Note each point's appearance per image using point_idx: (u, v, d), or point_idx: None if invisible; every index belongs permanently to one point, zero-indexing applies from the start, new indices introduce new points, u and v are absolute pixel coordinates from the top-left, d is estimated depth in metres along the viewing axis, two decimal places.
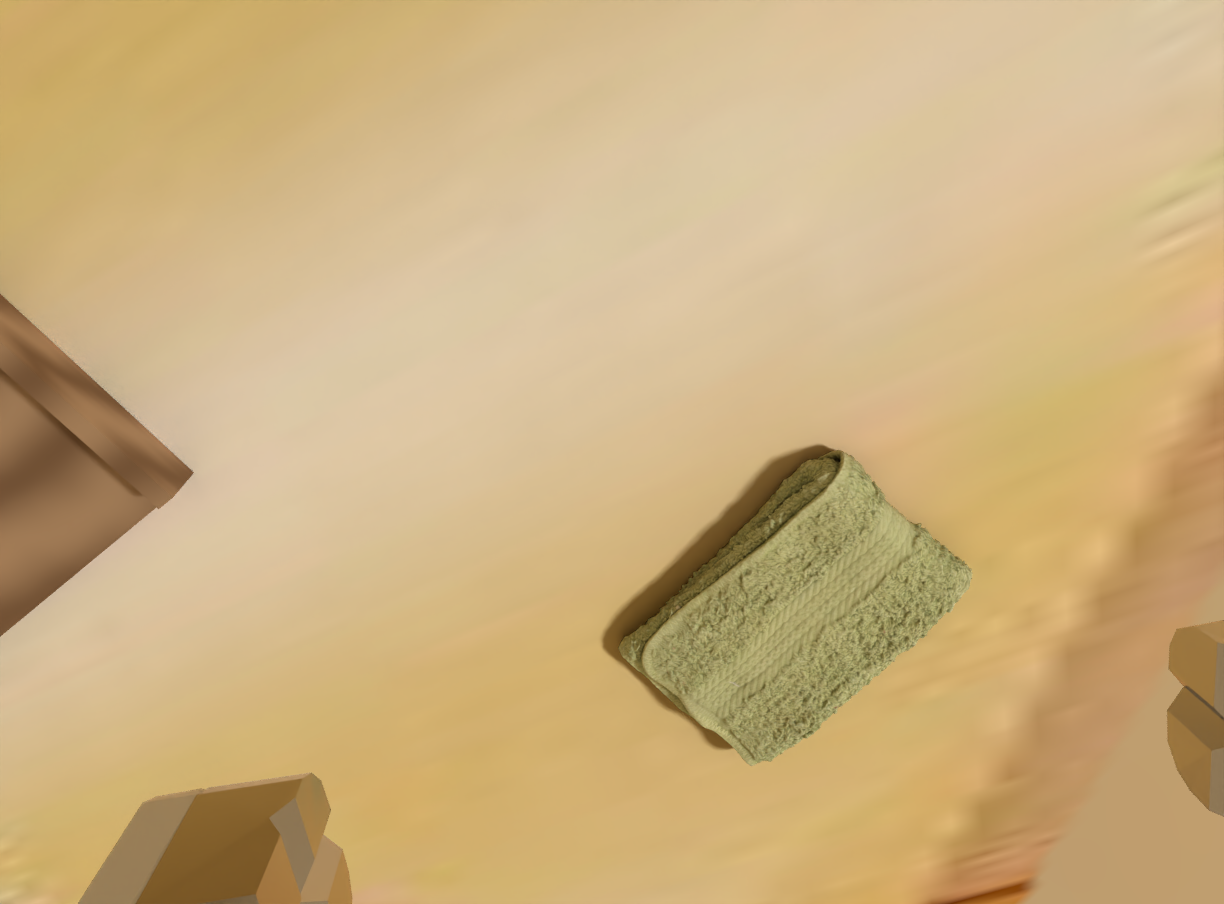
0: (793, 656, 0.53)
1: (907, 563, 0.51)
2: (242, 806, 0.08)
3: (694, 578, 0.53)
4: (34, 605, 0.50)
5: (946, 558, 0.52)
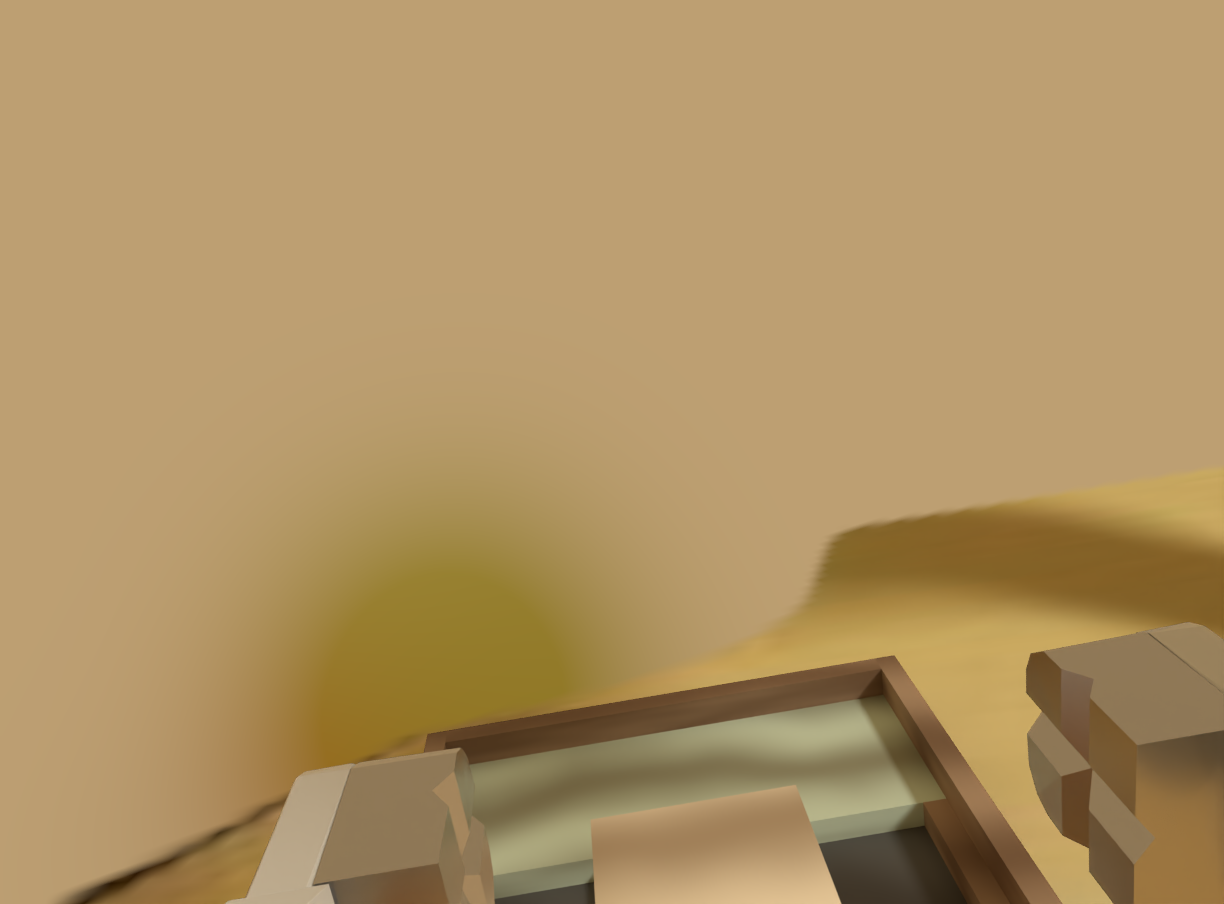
0: None
1: None
2: (402, 780, 0.08)
3: None
4: None
5: None
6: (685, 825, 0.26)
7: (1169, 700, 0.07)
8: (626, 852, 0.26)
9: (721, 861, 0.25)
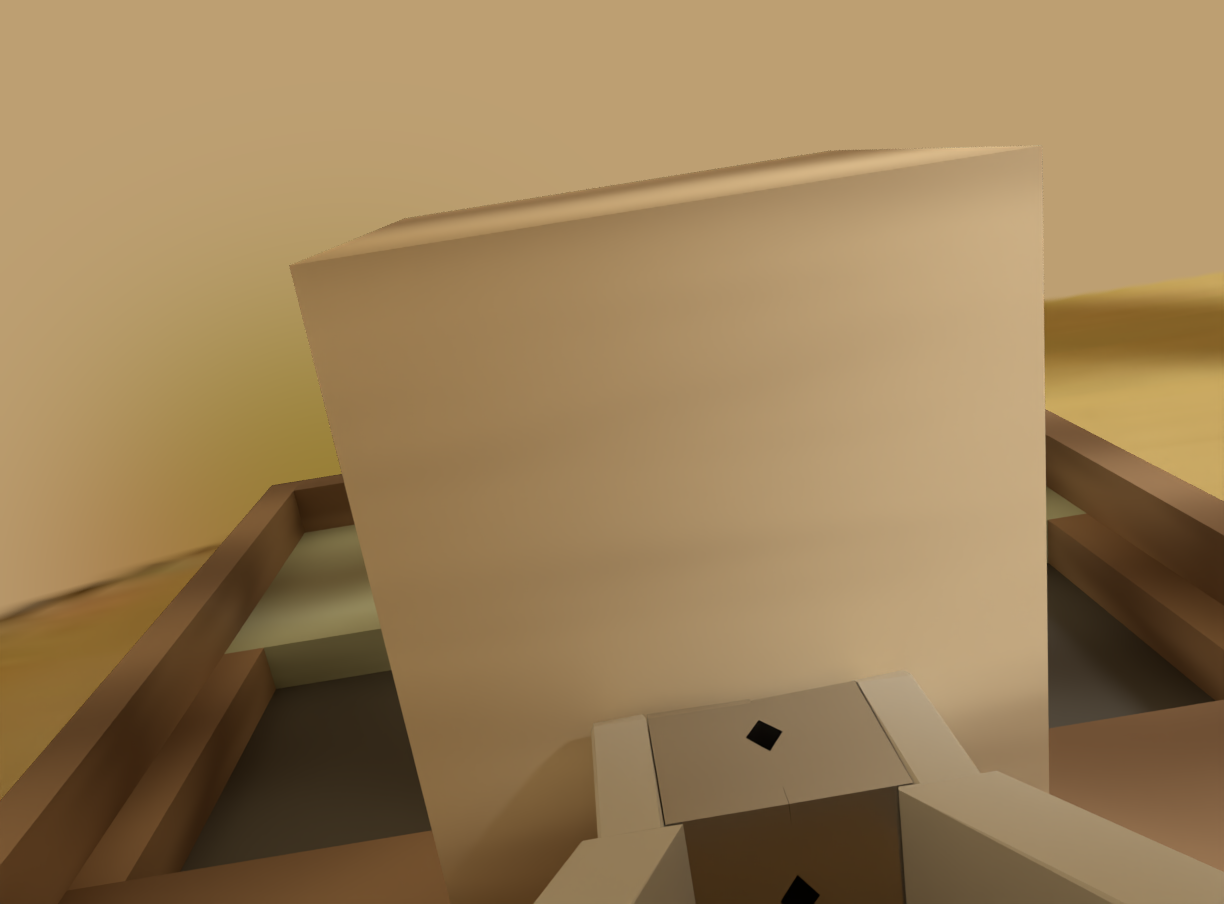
0: None
1: None
2: (707, 728, 0.08)
3: None
4: None
5: None
6: (596, 190, 0.12)
7: (840, 755, 0.07)
8: (460, 214, 0.12)
9: (667, 184, 0.11)
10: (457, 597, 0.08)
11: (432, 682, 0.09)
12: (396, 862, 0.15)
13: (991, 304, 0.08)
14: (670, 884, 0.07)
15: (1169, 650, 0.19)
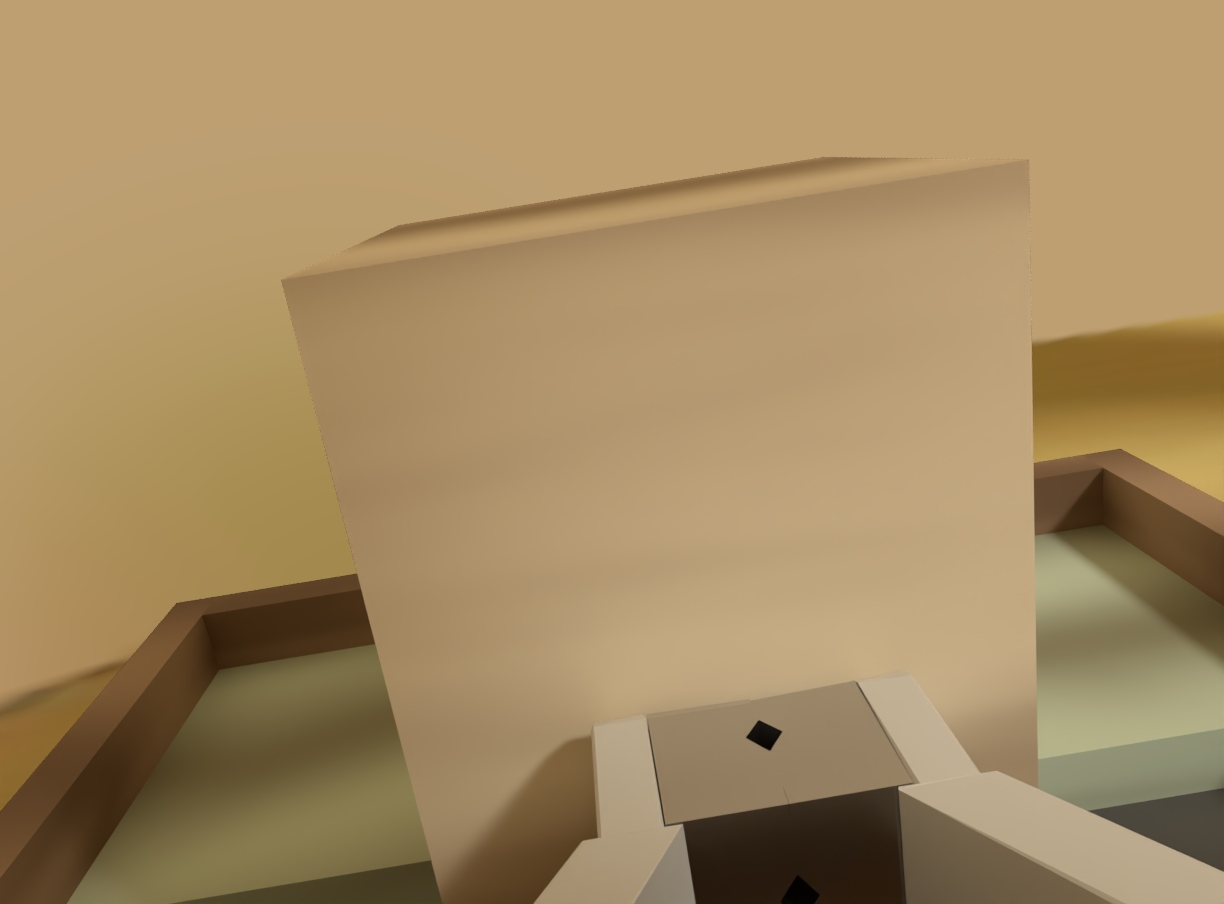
0: None
1: None
2: (707, 728, 0.08)
3: None
4: None
5: None
6: (589, 197, 0.12)
7: (840, 755, 0.07)
8: (453, 222, 0.12)
9: (659, 193, 0.11)
10: (450, 607, 0.08)
11: (425, 691, 0.09)
12: None
13: (979, 316, 0.08)
14: (670, 884, 0.07)
15: None
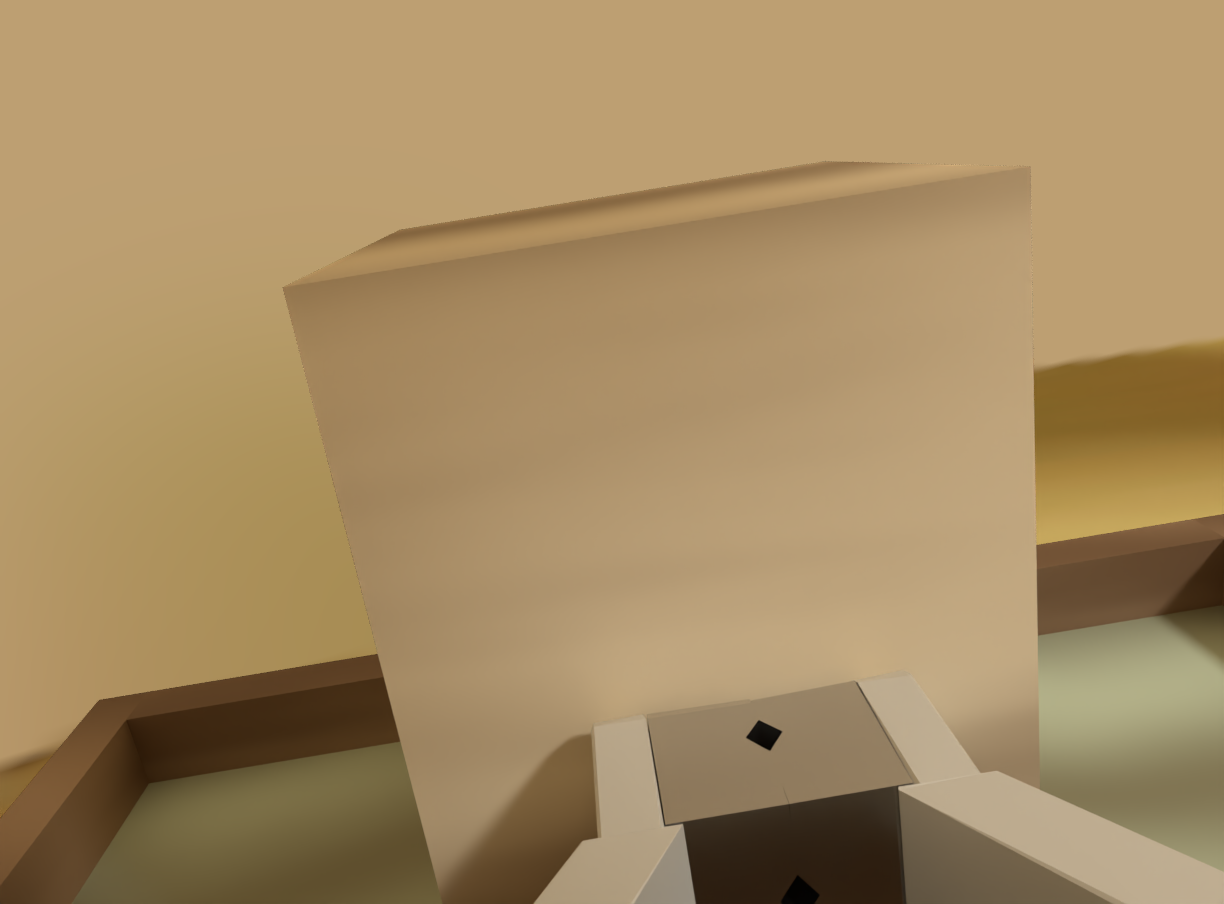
0: None
1: None
2: (708, 728, 0.08)
3: None
4: None
5: None
6: (591, 202, 0.12)
7: (840, 755, 0.07)
8: (455, 227, 0.12)
9: (660, 198, 0.11)
10: (451, 613, 0.08)
11: (426, 698, 0.09)
12: None
13: (980, 323, 0.08)
14: (670, 884, 0.07)
15: None
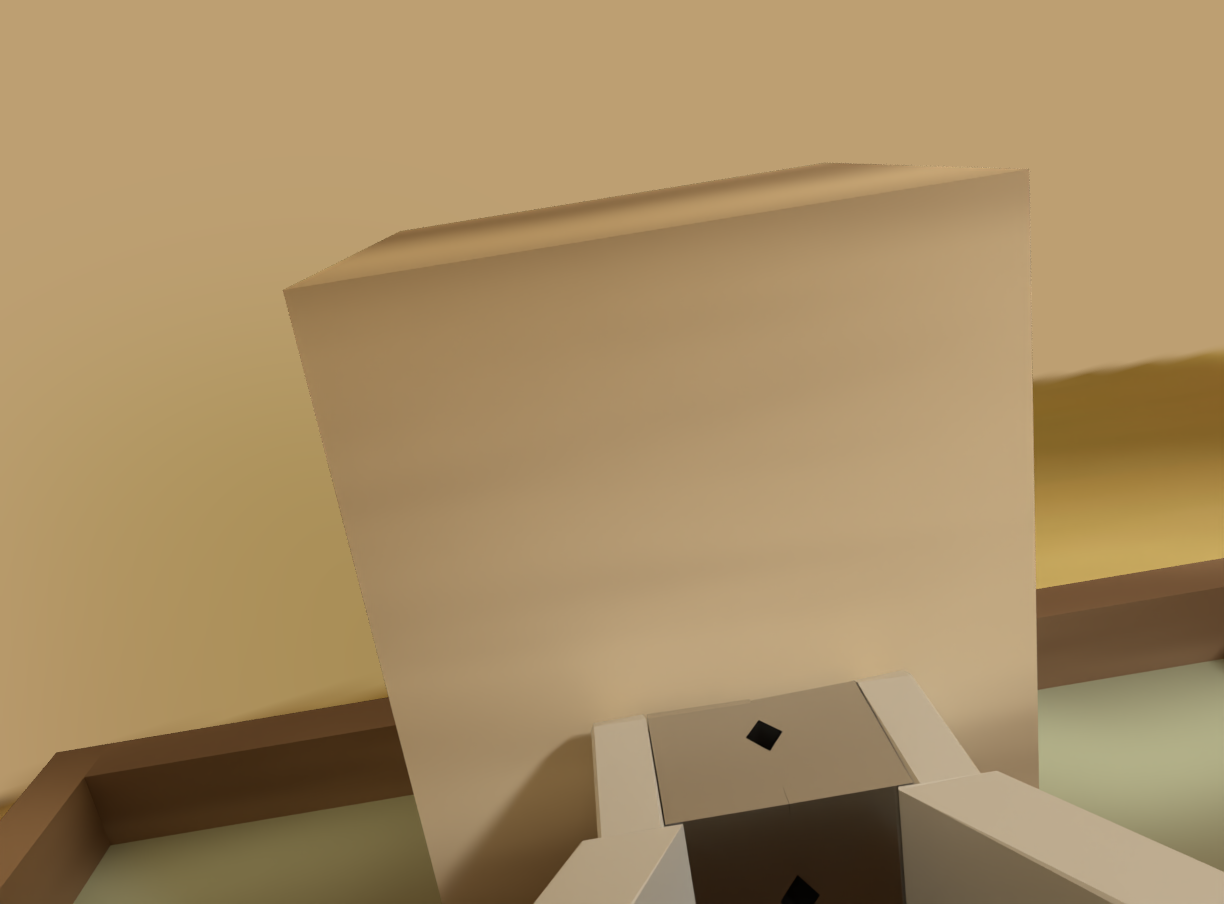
0: None
1: None
2: (708, 728, 0.08)
3: None
4: None
5: None
6: (590, 204, 0.12)
7: (840, 755, 0.07)
8: (454, 229, 0.12)
9: (659, 200, 0.11)
10: (452, 616, 0.08)
11: (426, 699, 0.09)
12: None
13: (979, 326, 0.08)
14: (670, 884, 0.07)
15: None
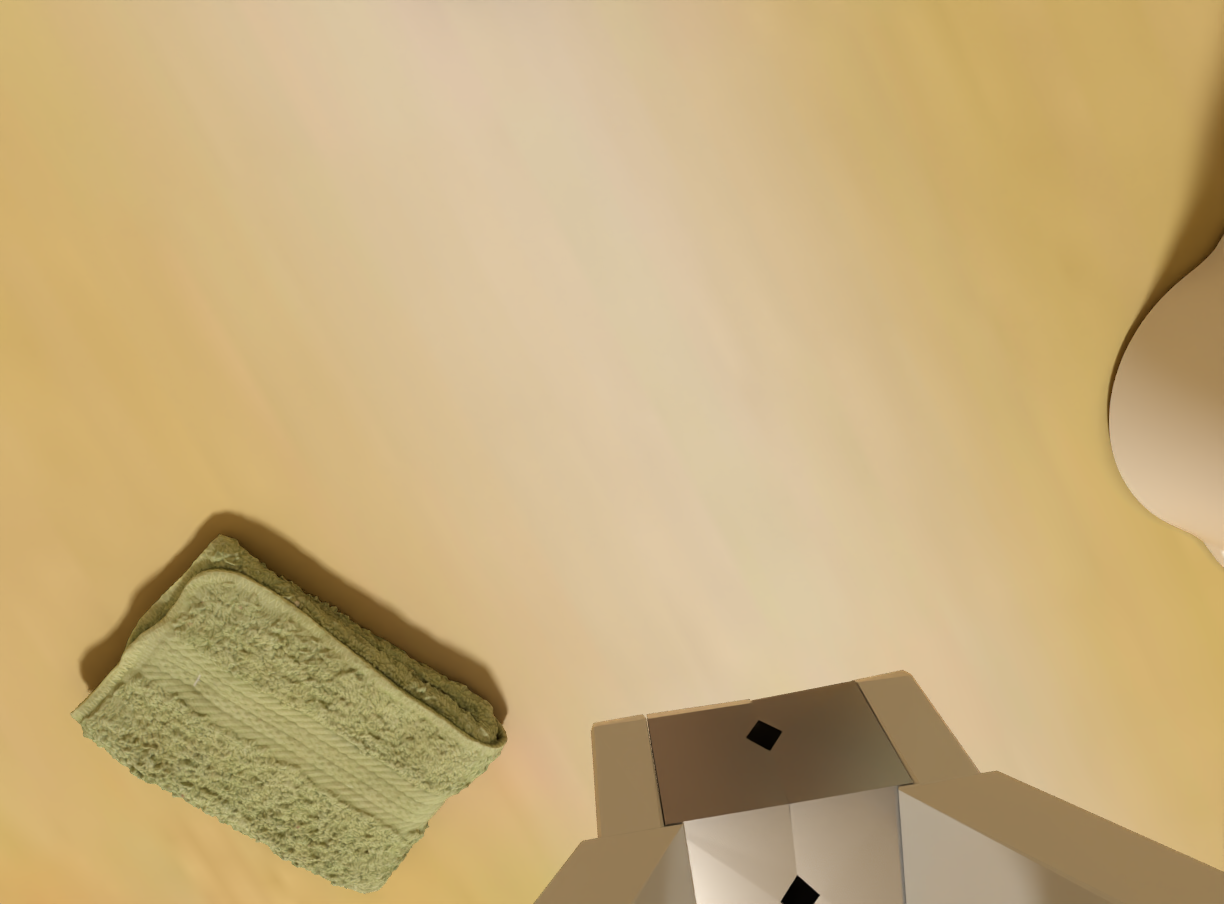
0: (250, 740, 0.44)
1: (390, 833, 0.46)
2: (707, 728, 0.08)
3: (329, 609, 0.45)
4: None
5: (396, 864, 0.48)
6: None
7: (842, 754, 0.07)
8: None
9: None
10: None
11: None
12: None
13: None
14: (670, 884, 0.07)
15: None
